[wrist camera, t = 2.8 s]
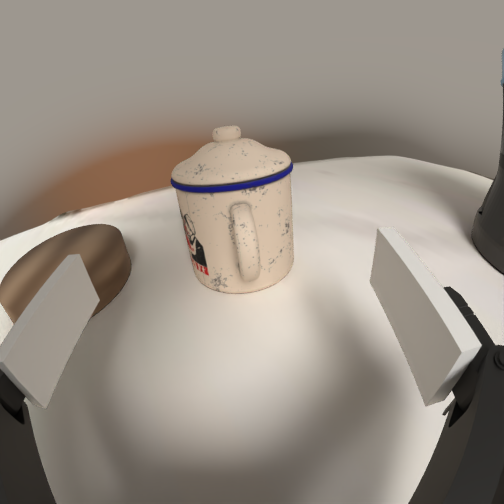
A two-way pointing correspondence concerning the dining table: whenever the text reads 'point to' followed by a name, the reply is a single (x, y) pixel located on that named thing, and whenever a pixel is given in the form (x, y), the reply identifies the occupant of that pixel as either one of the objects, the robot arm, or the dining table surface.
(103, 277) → the brown round disc
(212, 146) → the teacup with lid
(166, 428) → the dining table surface
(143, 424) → the dining table surface
